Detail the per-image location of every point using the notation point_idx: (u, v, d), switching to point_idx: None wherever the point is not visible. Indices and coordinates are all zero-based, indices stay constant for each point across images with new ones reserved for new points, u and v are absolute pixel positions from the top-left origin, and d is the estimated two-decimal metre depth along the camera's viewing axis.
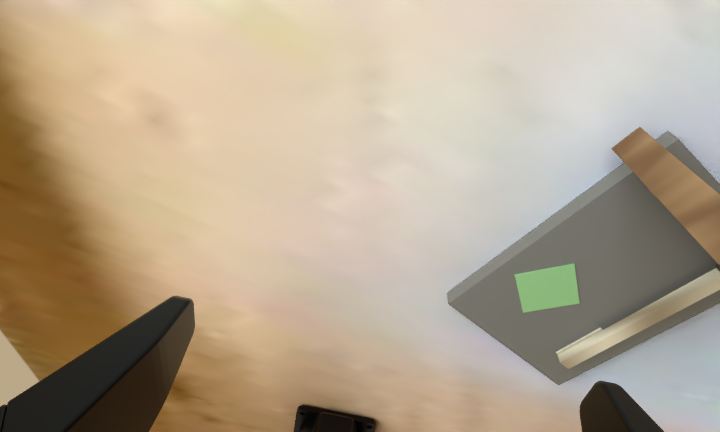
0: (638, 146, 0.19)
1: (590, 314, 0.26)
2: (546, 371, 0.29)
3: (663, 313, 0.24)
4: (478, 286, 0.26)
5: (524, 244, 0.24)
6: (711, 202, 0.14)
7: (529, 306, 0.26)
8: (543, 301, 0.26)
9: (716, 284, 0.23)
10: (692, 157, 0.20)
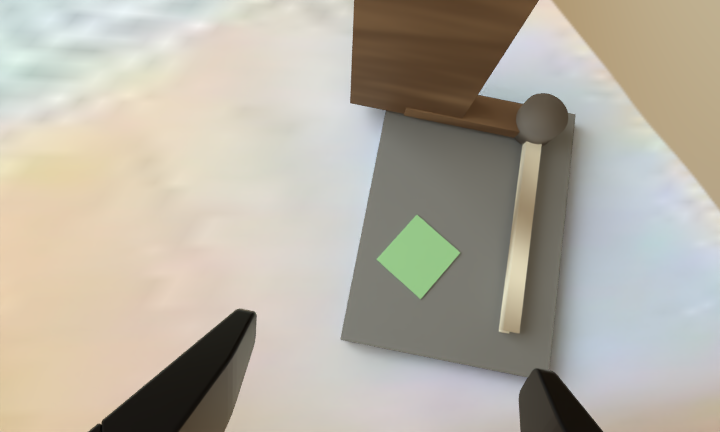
0: None
1: (483, 260, 0.23)
2: (516, 368, 0.22)
3: (527, 204, 0.22)
4: (354, 296, 0.22)
5: (363, 226, 0.23)
6: None
7: (419, 287, 0.22)
8: (426, 272, 0.22)
9: (532, 151, 0.23)
10: None
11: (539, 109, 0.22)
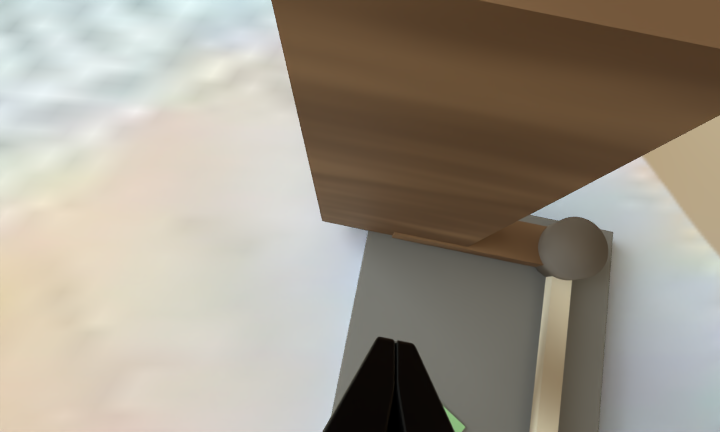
0: None
1: None
2: None
3: (554, 366, 0.17)
4: None
5: (337, 386, 0.18)
6: None
7: None
8: None
9: (560, 291, 0.17)
10: None
11: (570, 239, 0.17)
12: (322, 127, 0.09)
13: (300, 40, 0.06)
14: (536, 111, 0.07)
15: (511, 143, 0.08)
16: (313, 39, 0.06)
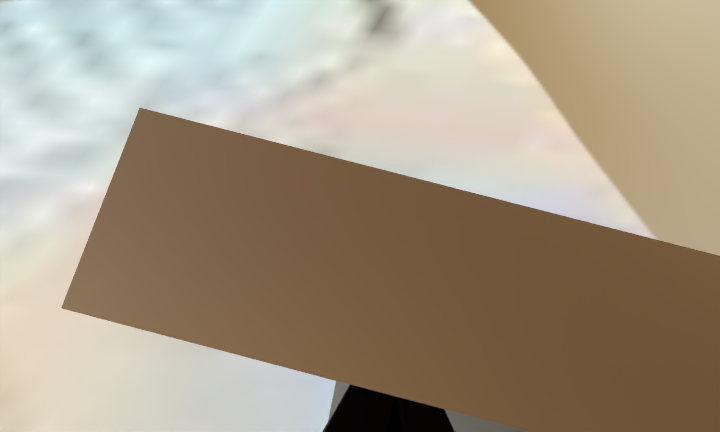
0: None
1: None
2: None
3: None
4: None
5: None
6: None
7: None
8: None
9: None
10: None
11: None
12: None
13: None
14: None
15: None
16: None
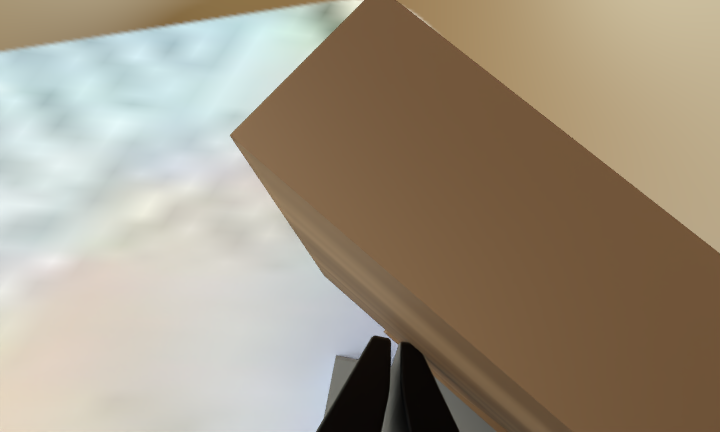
0: None
1: None
2: None
3: None
4: None
5: None
6: None
7: None
8: None
9: None
10: None
11: None
12: (321, 258, 0.07)
13: (292, 212, 0.04)
14: None
15: None
16: (306, 223, 0.04)
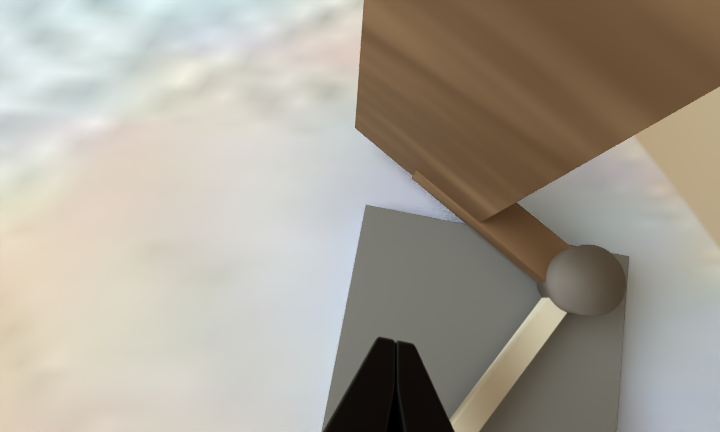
0: None
1: None
2: None
3: (501, 382, 0.15)
4: None
5: None
6: None
7: None
8: None
9: (548, 316, 0.16)
10: (398, 213, 0.17)
11: (587, 268, 0.15)
12: None
13: None
14: None
15: (581, 12, 0.06)
16: None
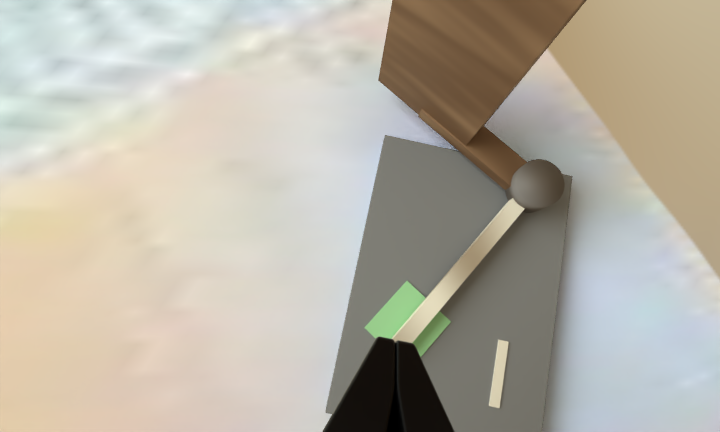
0: None
1: (474, 329, 0.22)
2: None
3: (478, 253, 0.22)
4: (340, 366, 0.21)
5: (351, 291, 0.23)
6: None
7: None
8: (415, 342, 0.22)
9: (511, 210, 0.22)
10: (407, 141, 0.24)
11: (538, 174, 0.22)
12: None
13: None
14: None
15: None
16: None
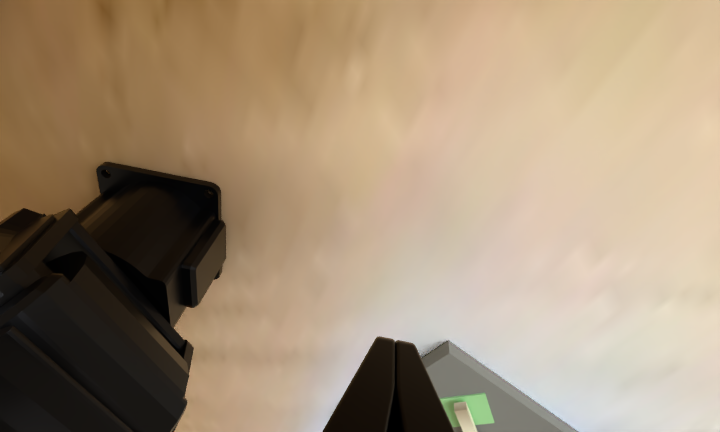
0: None
1: None
2: None
3: None
4: (471, 372, 0.28)
5: (513, 393, 0.29)
6: None
7: (447, 402, 0.29)
8: (453, 409, 0.30)
9: None
10: None
11: None
12: None
13: None
14: None
15: None
16: None
